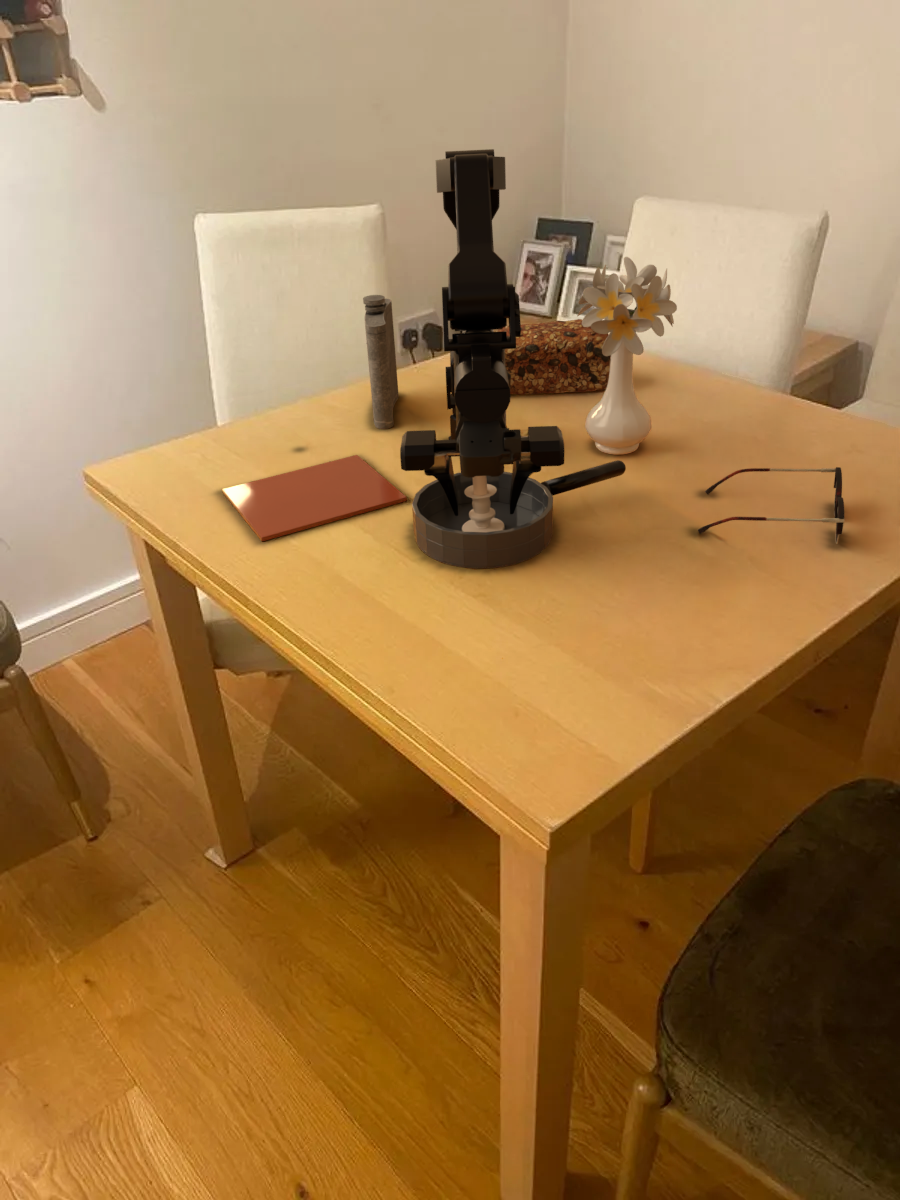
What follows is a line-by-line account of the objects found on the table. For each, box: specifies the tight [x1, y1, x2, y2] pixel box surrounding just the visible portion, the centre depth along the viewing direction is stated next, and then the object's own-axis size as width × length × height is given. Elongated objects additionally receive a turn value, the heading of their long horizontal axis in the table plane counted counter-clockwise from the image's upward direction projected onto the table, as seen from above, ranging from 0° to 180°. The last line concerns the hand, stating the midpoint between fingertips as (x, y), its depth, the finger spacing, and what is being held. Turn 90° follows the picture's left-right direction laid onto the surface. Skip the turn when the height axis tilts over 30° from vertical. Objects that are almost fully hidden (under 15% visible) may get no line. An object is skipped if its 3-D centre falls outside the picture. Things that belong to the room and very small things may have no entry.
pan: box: [411, 471, 554, 569], centre depth 118 cm, size 17×17×4 cm
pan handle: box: [540, 459, 627, 497], centre depth 123 cm, size 13×2×2 cm, turn 119°
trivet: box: [221, 454, 408, 542], centre depth 129 cm, size 20×16×1 cm
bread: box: [495, 318, 611, 396], centre depth 158 cm, size 19×11×10 cm, turn 89°
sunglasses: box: [697, 466, 845, 544], centre depth 118 cm, size 14×16×5 cm
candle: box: [462, 476, 505, 532], centre depth 116 cm, size 5×5×10 cm
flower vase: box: [576, 256, 678, 455], centre depth 131 cm, size 13×18×25 cm
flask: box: [362, 294, 400, 430], centre depth 149 cm, size 4×14×18 cm, turn 179°
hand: (483, 513), depth 117 cm, fingers closed on candle, 6 cm apart
